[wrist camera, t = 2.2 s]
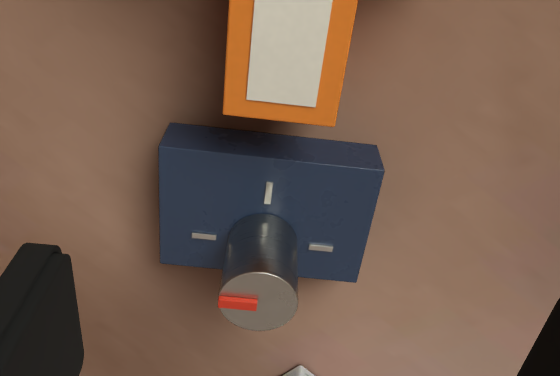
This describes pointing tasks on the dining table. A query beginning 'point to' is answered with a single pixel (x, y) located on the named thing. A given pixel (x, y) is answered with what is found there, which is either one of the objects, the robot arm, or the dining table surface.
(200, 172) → the panel
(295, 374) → the light bulb box
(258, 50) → the package
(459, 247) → the dining table surface
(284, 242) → the tap knob
